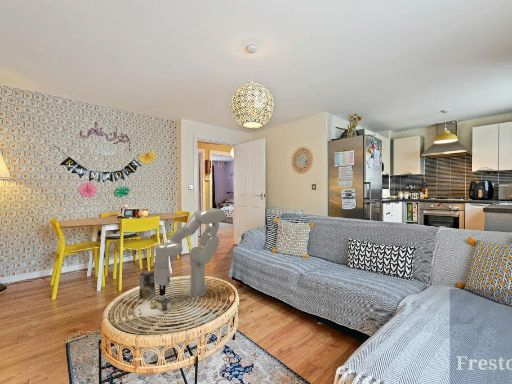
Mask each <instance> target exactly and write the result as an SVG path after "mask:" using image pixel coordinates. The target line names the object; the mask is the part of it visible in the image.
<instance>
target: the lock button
mask: <svg viewBox="0 0 512 384" xmlns="http://www.w3.org/2000/svg"><path fill="white" fill-rule="evenodd" d="M165 298H166V293H165V294H164V295H162V296H161V295H159V294H158V298H157V299H158V301H159V302H163V301H165Z"/></svg>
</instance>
